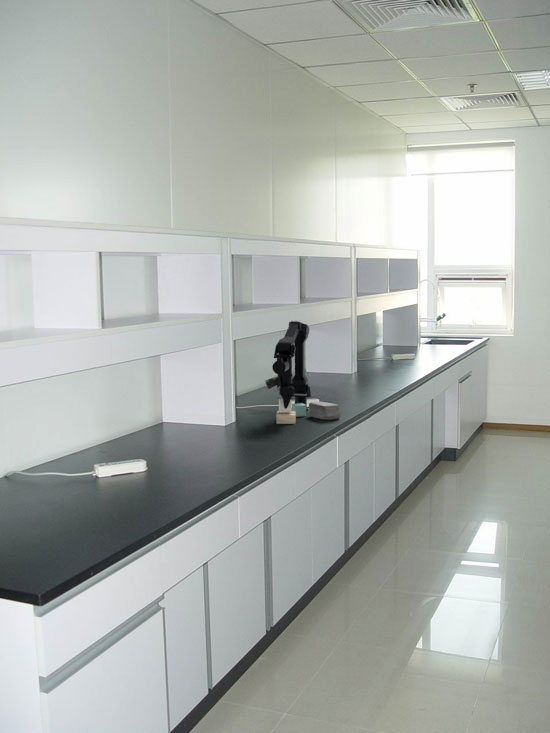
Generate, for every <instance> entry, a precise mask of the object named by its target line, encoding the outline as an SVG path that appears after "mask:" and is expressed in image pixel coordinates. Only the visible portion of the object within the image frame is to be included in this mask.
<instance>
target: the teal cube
mask: <svg viewBox="0 0 550 733" xmlns="http://www.w3.org/2000/svg"><path fill="white" fill-rule="evenodd" d="M291 411H296V418H298V417H306V416H307V410H306V405H305V404H303V403H297V404H294V403H291Z"/></svg>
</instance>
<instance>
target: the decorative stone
mask: <svg viewBox="0 0 550 733" xmlns="http://www.w3.org/2000/svg"><path fill="white" fill-rule="evenodd" d="M308 407H309V408H308V411H309V416H310V417H311V418H314V419H316V420H321V421H334V420H335V421H336V420H339V419H340V418H341V411H340V407H339V404H336V403H330V402H325V401H318V400H314V401H310V402H309V403H308Z"/></svg>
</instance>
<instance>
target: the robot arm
mask: <svg viewBox="0 0 550 733" xmlns="http://www.w3.org/2000/svg"><path fill="white" fill-rule="evenodd" d="M309 334H310V326H309V325H308V324H307V323H303V322H301V321H298V320H296V321H295V320H291V321H289V323H288V327H287V330H286V331H285V334H284V336H283V338H280V339H279V340H278V341H277V343H276V345H275V349H274V354H273V359H276V361H274V362H273V364H272V366H271V367H272V371H273V372H274V374H276V375H277V376H274V377H271V378H268V379H266V380H265V381H264V382H265V384H266V387H267V389H268V390H269V389H272V388H274V387H276V389H277V391H278V394H279V395H280V396H281V399H283V403H284V408H285V409H287V407H288V405H289V402H290V400H291V401H292V398H293V397H294V402H293V404H297V403H303V404H305V405H306V411H309V408H308V402H307V401H308V398H311V397H312V391H311V387H310V384H309V379H308V377H307V376H306V374H305V373H306V371H305V368H306V367H305V366H306V365H305V359H306V358H305V352H306V349H305V344H306V341H307V340H308V338H309ZM293 359H294V376H293Z"/></svg>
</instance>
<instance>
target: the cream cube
mask: <svg viewBox="0 0 550 733" xmlns="http://www.w3.org/2000/svg"><path fill="white" fill-rule="evenodd" d="M278 411H279V412H291V411H292V399H291V400H290V402H289V405H288V407H287V409H285V408H284V403H283V399H282V398H278Z"/></svg>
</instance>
